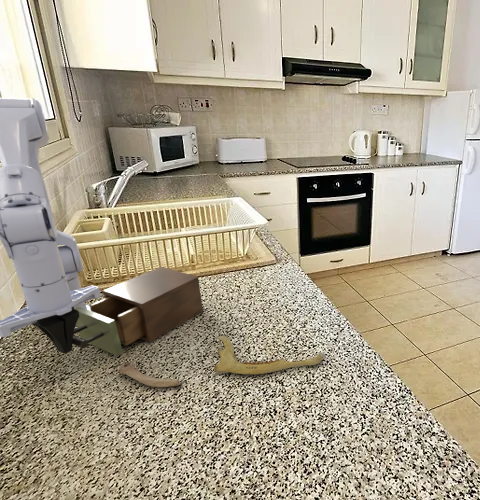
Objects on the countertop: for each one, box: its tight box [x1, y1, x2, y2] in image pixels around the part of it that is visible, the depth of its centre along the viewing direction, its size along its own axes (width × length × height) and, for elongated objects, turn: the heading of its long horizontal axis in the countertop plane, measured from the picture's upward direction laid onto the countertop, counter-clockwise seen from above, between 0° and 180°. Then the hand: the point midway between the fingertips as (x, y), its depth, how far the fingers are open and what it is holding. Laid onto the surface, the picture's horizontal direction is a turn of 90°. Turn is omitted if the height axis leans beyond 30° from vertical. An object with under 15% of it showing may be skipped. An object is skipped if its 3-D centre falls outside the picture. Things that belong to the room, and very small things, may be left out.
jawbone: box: [213, 335, 326, 375], centre depth 67 cm, size 21×9×2 cm, turn 79°
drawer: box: [72, 296, 146, 356], centre depth 72 cm, size 17×10×7 cm, turn 154°
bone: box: [117, 362, 180, 388], centre depth 63 cm, size 3×11×2 cm, turn 72°
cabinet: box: [102, 266, 204, 343], centre depth 79 cm, size 14×12×9 cm
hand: (65, 350), depth 64 cm, fingers closed
